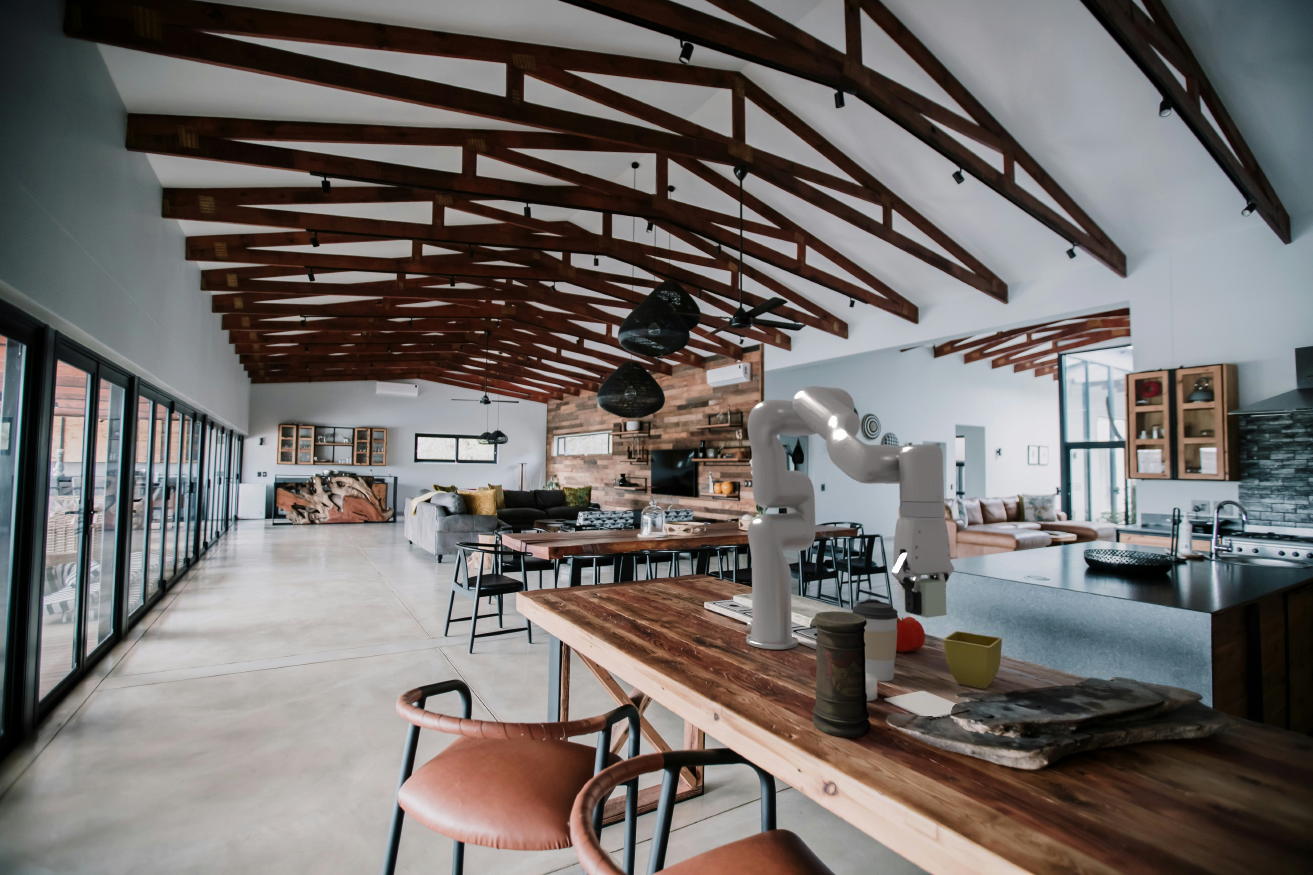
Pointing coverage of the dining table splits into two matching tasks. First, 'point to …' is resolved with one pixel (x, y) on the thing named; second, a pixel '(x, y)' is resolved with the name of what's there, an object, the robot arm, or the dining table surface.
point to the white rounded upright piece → (871, 687)
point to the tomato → (909, 635)
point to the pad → (923, 704)
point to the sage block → (931, 597)
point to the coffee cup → (879, 637)
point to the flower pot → (973, 658)
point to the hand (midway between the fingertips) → (924, 610)
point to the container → (841, 675)
